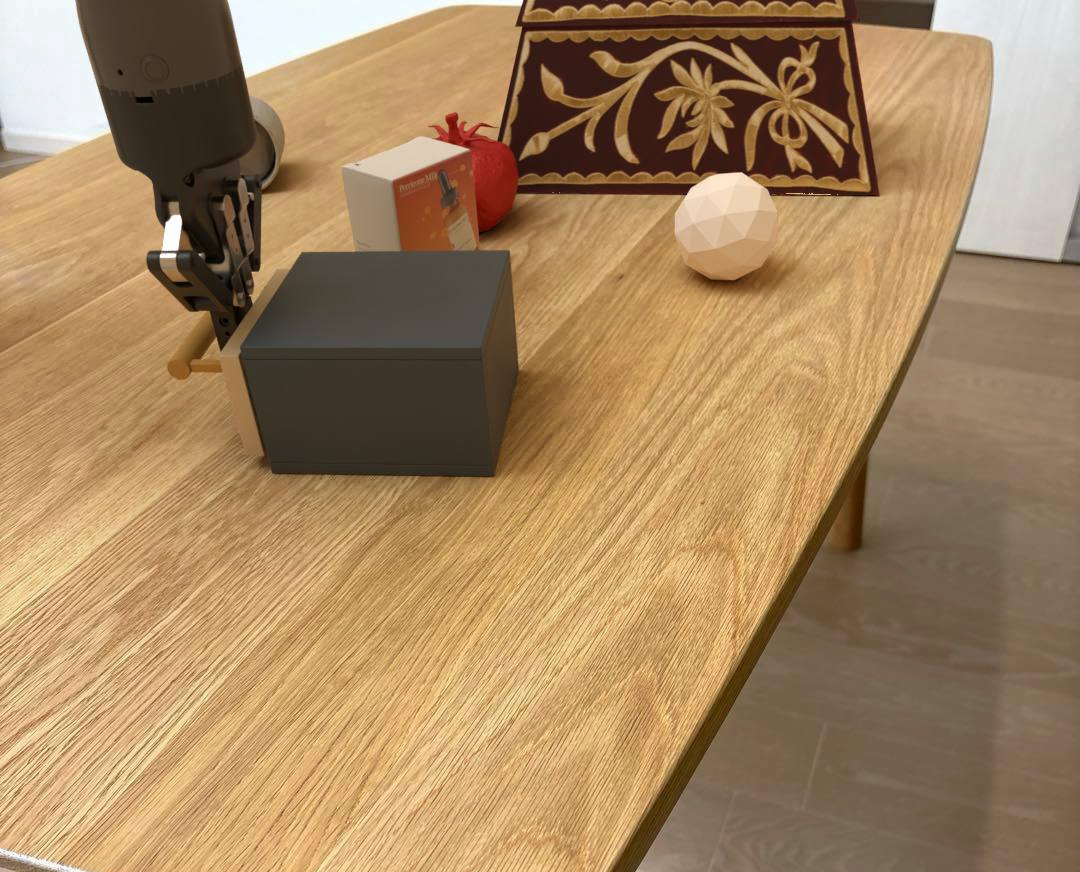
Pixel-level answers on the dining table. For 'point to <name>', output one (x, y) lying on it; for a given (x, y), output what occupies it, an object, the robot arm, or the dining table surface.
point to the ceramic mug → (264, 143)
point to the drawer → (229, 364)
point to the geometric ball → (726, 226)
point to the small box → (413, 198)
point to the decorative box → (688, 97)
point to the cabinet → (386, 363)
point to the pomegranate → (485, 170)
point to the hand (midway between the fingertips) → (243, 355)
